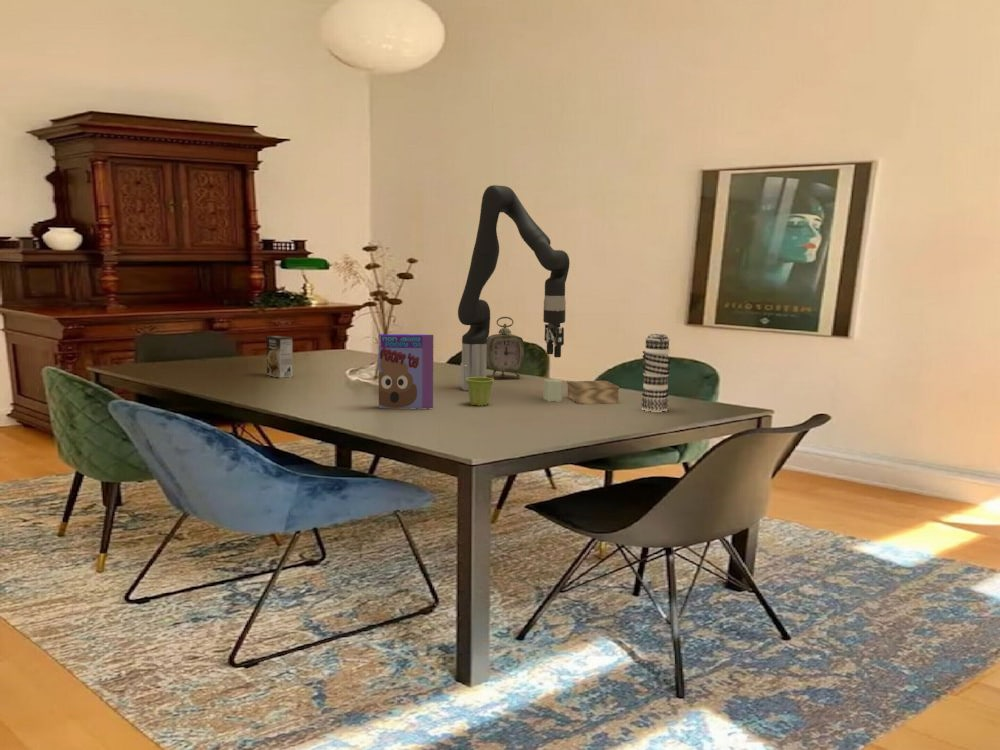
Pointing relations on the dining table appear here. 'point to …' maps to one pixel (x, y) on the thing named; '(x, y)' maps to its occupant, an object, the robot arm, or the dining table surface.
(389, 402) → the cereal box
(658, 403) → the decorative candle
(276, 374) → the coffee box
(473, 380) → the plant pot
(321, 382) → the dining table surface
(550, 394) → the sage block
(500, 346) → the tabletop clock
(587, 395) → the oak box
